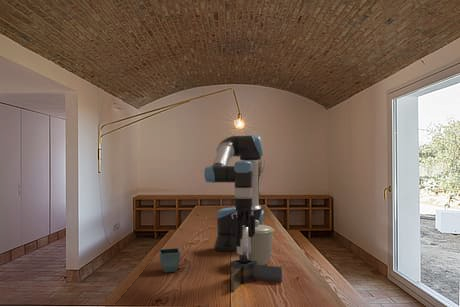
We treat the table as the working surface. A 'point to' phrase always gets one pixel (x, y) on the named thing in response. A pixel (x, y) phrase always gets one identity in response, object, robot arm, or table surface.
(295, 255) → the table surface
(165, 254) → the flower pot
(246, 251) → the hinge pin
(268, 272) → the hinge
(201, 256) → the table surface
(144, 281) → the table surface
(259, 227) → the canister
